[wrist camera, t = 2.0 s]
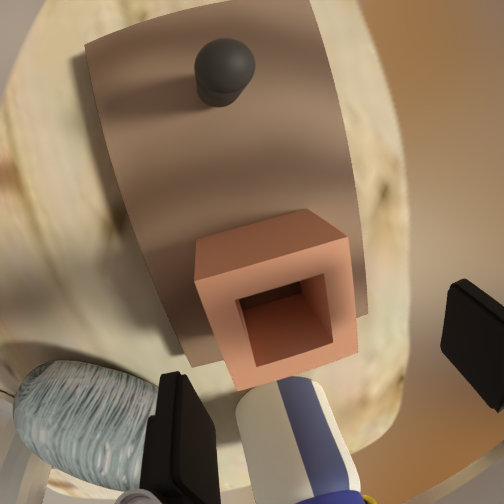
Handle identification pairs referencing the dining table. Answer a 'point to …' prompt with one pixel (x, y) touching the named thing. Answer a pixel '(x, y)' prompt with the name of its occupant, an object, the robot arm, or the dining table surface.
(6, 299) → the dining table surface
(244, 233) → the orange hollow square block
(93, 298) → the dining table surface
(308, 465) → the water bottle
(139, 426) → the grey streaked oval part
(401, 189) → the dining table surface
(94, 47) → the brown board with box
